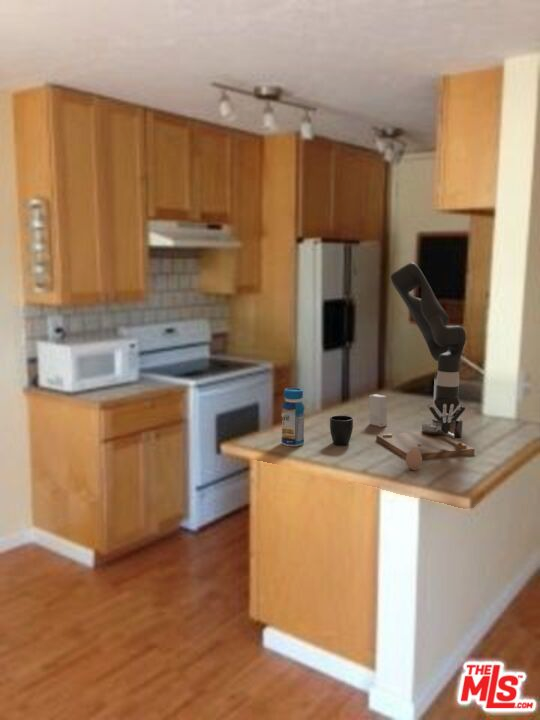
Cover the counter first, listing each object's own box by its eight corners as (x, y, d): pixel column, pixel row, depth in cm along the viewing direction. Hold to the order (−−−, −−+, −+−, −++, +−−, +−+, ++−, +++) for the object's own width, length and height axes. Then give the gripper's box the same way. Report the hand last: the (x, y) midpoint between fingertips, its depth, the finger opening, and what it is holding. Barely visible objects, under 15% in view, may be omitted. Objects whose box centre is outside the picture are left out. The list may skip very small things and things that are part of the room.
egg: (406, 466, 218) (406, 446, 217) (422, 468, 216) (423, 447, 215) (404, 471, 213) (405, 450, 212) (421, 473, 211) (422, 452, 210)
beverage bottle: (306, 446, 239) (307, 391, 236) (283, 447, 238) (283, 392, 235) (301, 439, 248) (302, 386, 244) (279, 440, 246) (279, 387, 243)
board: (436, 435, 255) (437, 427, 254) (474, 454, 231) (474, 446, 230) (376, 440, 248) (376, 432, 247) (408, 460, 224) (408, 451, 223)
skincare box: (387, 425, 268) (388, 396, 266) (379, 427, 266) (380, 397, 264) (375, 422, 273) (376, 393, 271) (368, 424, 270) (369, 394, 268)
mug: (357, 439, 249) (358, 414, 247) (348, 447, 238) (349, 421, 236) (336, 436, 252) (336, 412, 250) (326, 445, 241) (327, 419, 239)
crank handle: (417, 429, 253) (418, 408, 252) (438, 428, 256) (439, 406, 255) (448, 445, 233) (449, 422, 232) (470, 443, 235) (472, 420, 234)
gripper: (431, 385, 227) (429, 435, 230) (470, 385, 228) (467, 435, 230) (425, 381, 234) (423, 430, 237) (462, 381, 235) (460, 429, 238)
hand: (445, 432), depth 234 cm, fingers closed
